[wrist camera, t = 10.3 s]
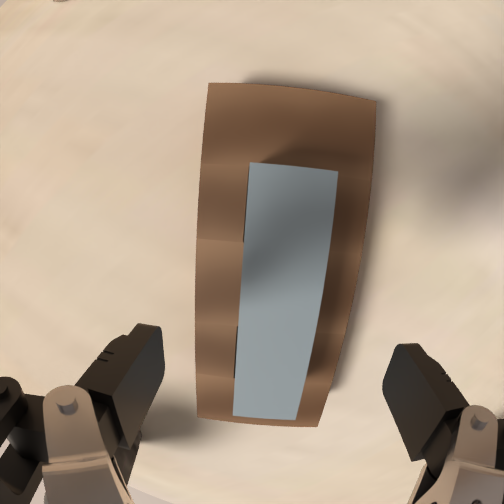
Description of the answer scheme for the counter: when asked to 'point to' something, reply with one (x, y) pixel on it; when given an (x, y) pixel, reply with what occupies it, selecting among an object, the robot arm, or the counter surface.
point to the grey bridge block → (281, 285)
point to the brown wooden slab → (234, 216)
